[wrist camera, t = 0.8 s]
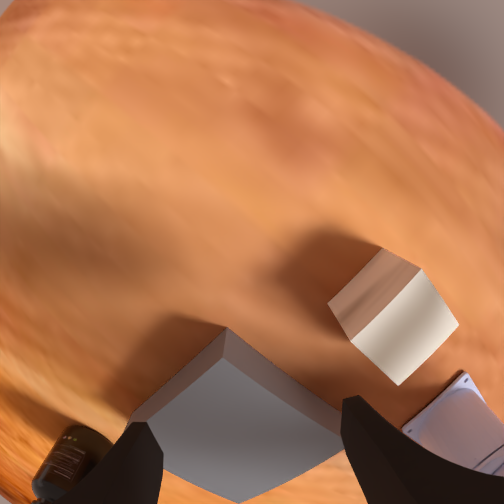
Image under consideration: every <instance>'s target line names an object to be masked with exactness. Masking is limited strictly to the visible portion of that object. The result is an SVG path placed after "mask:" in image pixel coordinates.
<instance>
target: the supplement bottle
mask: <svg viewBox="0 0 504 504" xmlns="http://www.w3.org/2000/svg"><path fill="white" fill-rule="evenodd" d="M112 446H113V444H112V443H111V442H110V441H109V440H108V439H106V438H105V437H104V436H102V435H101V434H99V433H97V432H95V431H93V430H91V429H89V428H86V427H83V426H69V427H67V428H66V429H65V430H64V431H63V432H62V434H61V435H60V437H59V438H58V440H57V441H56V443H55V444H54V446H53V447H52V449H51V450H50V452H49V454H48V455H47V457H46V458H45V460H44V462H43V463H42V465H41V466H40V468H39V470H38V471H37V473H36V475H35V476H34V478H33V480H32V490H33V492H34V494H35V496H36V497H37V501H36V500H33V501H32V503H31V504H51V503H53V502H54V501H56V500H57V499H59V498H60V497H62V496H63V495H64V494H66V493H67V492H68V491H70V490H71V489H72V488H73V487H75V486H76V485H77V484H78V483H79V482H80V481H81V480H82V479H84V478H85V477H86V476H87V475H88V474H89V472H90V471H91V470H92V469H93V468H94V467H95V466H96V465H97V464H98V463H99V462H100V461H101V460H102V458H103V457H104V456H105V455H106V454H107V452H108V451H109V450H110V449H111V448H112Z"/></svg>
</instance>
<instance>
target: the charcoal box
mask: <svg viewBox="0 0 504 504" xmlns="http://www.w3.org/2000/svg"><path fill="white" fill-rule="evenodd" d="M341 417H342V414H341V412H339V411H338V410H336V409H335V408H333V407H332V406H331V405H329V404H328V403H326V402H325V401H323V400H322V399H321V398H319V397H318V396H316V395H315V394H313V393H312V392H311V391H309V390H308V389H307V388H305V387H304V386H302V385H301V384H300V383H298V382H297V381H296V380H294V379H293V378H292V377H290V376H289V375H288V374H286V373H285V372H284V371H282V370H281V369H280V368H278V367H277V366H276V365H274V364H273V363H272V362H270V361H269V360H268V359H267V358H265V357H264V356H263V355H261V354H260V353H259V352H258V351H256V350H255V349H254V348H253V347H251V346H250V345H249V344H247V343H246V342H245V341H244V340H243V339H241V338H240V337H239V336H238V335H236V334H235V333H234V332H233V331H231V330H230V329H229V328H228V327H227V328H226V329H225V330H224V331H223V332H221V333H220V334H219V335H218V336H217V337H216V338H215V339H214V340H213V341H212V342H211V343H210V344H209V345H208V346H206V347H205V348H204V349H203V350H202V351H201V352H200V353H199V354H198V355H197V356H196V357H194V358H193V359H192V360H191V361H190V362H189V363H188V364H187V365H186V366H185V367H183V368H182V369H181V370H180V371H179V372H178V373H177V374H176V375H175V376H173V377H172V378H171V379H170V380H169V381H168V382H167V383H166V384H165V385H163V386H162V387H161V388H160V389H159V390H158V391H157V392H155V393H154V394H153V395H152V396H151V397H150V398H149V399H148V400H146V401H145V402H144V403H143V404H142V405H141V406H139V407H138V408H137V409H136V410H135V411H134V412H133V413H132V415H131V417H130V419H129V421H128V423H127V426H126V428H125V430H126V429H127V428H128V427H129V425H130V424H131V423H132V422H147V423H148V425H149V427H150V429H151V431H152V433H153V435H154V437H155V438H156V440H157V442H158V444H159V446H160V447H161V449H162V451H163V453H164V460H163V469H165V470H167V471H169V472H170V473H172V474H174V475H176V476H178V477H180V478H182V479H184V480H186V481H188V482H190V483H192V484H194V485H196V486H198V487H201V488H203V489H205V490H207V491H209V492H212V493H214V494H216V495H219V496H221V497H223V498H226V499H228V500H231V501H233V502H236V503H241V502H244V501H246V500H249V499H251V498H253V497H256V496H258V495H260V494H263V493H265V492H267V491H269V490H271V489H273V488H275V487H278V486H280V485H282V484H284V483H286V482H288V481H290V480H292V479H293V478H295V477H297V476H299V475H301V474H303V473H305V472H306V471H308V470H310V469H312V468H314V467H315V466H317V465H319V464H320V463H322V462H324V461H325V460H327V459H329V458H330V457H332V456H334V455H335V454H337V453H338V452H340V451H342V450H343V449H345V448H344V445H343V442H342V438H341V435H340V428H341ZM125 430H124V431H125ZM123 433H124V432H123Z"/></svg>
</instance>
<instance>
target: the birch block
mask: <svg viewBox="0 0 504 504" xmlns="http://www.w3.org/2000/svg"><path fill="white" fill-rule="evenodd" d="M327 304H328V306H329V307H330V309H331V310H332V312H333V314H334V315H335V317H336V319H337V320H338V322H339V323H340V325H341V327H342V328H343V330H344V332H345V333H346V335H347V337H348V338H349V340H350V341H351V342H352V343H353V344H354V345H355V346H356V347H357V348H358V349H359V350H360V351H361V352H362V353H363V354H365V355H366V356H367V357H368V358H369V359H370V360H371V361H372V362H373V363H374V364H375V365H376V366H377V367H378V368H380V369H381V370H382V371H383V372H384V373H385V374H386V375H387V376H388V377H389V378H390V379H391V380H392V381H393V382H394V383H396V384H397V385H398V386H399V385H400V384H401V383H402V382H403V381H404V380H405V379H406V378H408V377H409V376H410V375H411V374H412V373H413V372H414V371H415V370H416V369H417V368H418V367H419V366H420V365H421V364H422V363H423V362H424V361H425V360H427V359H428V358H429V357H430V356H431V355H432V354H433V352H434V351H435V350H436V349H437V348H438V347H439V346H440V345H441V344H442V343H443V342H444V341H445V340H446V339H447V338H448V337H449V336H450V335H451V333H452V332H453V331H454V330H455V329H456V328H457V327H458V326H459V324H458V322H457V321H456V319H455V317H454V316H453V314H452V313H451V311H450V310H449V308H448V306H447V305H446V303H445V302H444V300H443V299H442V297H441V296H440V294H439V293H438V291H437V290H436V288H435V287H434V286H433V284H432V283H431V281H430V280H429V278H428V277H427V276H426V274H425V273H424V271H423V270H422V269H421V268H419V267H418V266H416V265H414V264H412V263H410V262H408V261H407V260H405V259H403V258H401V257H399V256H397V255H395V254H394V253H392V252H390V251H388V250H386V249H384V248H382V249H381V250H380V251H379V252H378V253H377V254H376V255H375V256H374V257H373V258H372V259H371V260H370V261H369V262H368V263H367V264H366V265H365V266H364V267H363V269H362V270H361V271H360V272H359V273H358V274H357V275H356V276H355V277H354V278H353V279H352V280H351V281H350V282H349V283H348V284H347V285H346V286H345V287H344V288H343V289H342V290H341V291H340V292H339V293H338V294H337V295H335V296H334V297H333V298H332V299H331V300H330V301H329V302H328V303H327Z"/></svg>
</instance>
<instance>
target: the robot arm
mask: <svg viewBox="0 0 504 504" xmlns="http://www.w3.org/2000/svg"><path fill="white" fill-rule="evenodd" d="M402 431H403V433H405V434H406V435H407V436H409V437H410V438H412V439H413V440H414V441H416V442H417V443H419V444H420V445H422V446H423V447H422V446H420V445H419V444H417V443H416V442H414V441H413V440H411V439H410V438H409V437H407V436H406V435H404V434H403V433H402V432H400V431H399V430H398V429H397V428H395V427H394V426H393V425H392V424H390V423H389V422H388V421H387V420H386V419H384V418H383V417H382V416H381V415H380V414H379V413H378V412H377V411H375V410H374V409H373V408H372V407H371V406H370V405H369V404H368V403H367V402H366V401H365V400H364V399H363V398H362V397H361V396H359V395H357V396H353V397H350V398H346V399H343V404H342V417H341V428H340V435H341V438H342V442H343V445H344V448H345V452H346V455H347V457H348V459H349V462H350V464H351V466H352V468H353V471H354V473H355V475H356V477H357V480H358V482H359V484H360V486H361V488H362V491H363V493H364V495H365V497H366V500H367V503H368V504H504V424H503V423H502V422H501V420H500V419H499V418H498V417H497V416H496V415H495V414H494V412H493V411H492V410H491V409H490V408H489V407H488V406H487V404H486V402H485V401H484V399H483V397H482V396H481V394H480V392H479V391H478V389H477V387H476V386H475V384H474V382H473V381H472V379H471V378H470V376H469V374H468V373H467V372H463V373H462V374H461V375H460V376H459V377H458V378H457V379H456V380H455V381H454V382H453V383H452V384H451V385H450V386H449V387H448V388H447V389H446V390H444V391H443V392H442V393H441V394H440V395H439V396H438V397H437V398H436V399H435V400H434V401H433V402H432V403H430V404H429V405H428V406H427V407H426V408H425V409H424V410H422V411H421V412H420V413H419V414H418V415H417V416H415V417H414V418H413V419H412V420H410V421H409V422H408V423H407V424H405V425H404V426H403V427H402ZM163 460H164V453H163V451H162V449H161V447H160V446H159V444H158V442H157V440H156V438H155V437H154V435H153V433H152V431H151V429H150V427H149V425H148V423H147V422H132V423H131V424H130V425H129V427H128V428H127V429H126V430H125V431H124V433H123V434H122V435H121V436H120V438H119V439H118V440H117V441H116V443H115V444H114V445H113V446H112V448H111V449H110V450H109V451H108V452H107V454H106V455H105V456H104V457H103V458H102V460H101V461H100V462H99V463H98V464H97V465H96V466H95V467H94V468H93V469H92V470H91V471H90V472H89V474H88V475H87V476H86V477H85V478H84V479H82V480H81V481H80V482H79V483H78V484H77V485H76V486H75V487H73V488H72V489H71V490H70V491H68V492H67V493H66V494H64V495H63V496H62V497H60V498H59V499H57V500H56V501H54V502H53V503H51V504H157V502H158V497H159V492H160V487H161V481H162V476H163Z"/></svg>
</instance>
